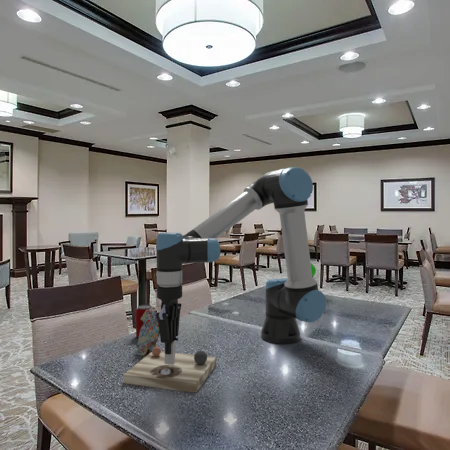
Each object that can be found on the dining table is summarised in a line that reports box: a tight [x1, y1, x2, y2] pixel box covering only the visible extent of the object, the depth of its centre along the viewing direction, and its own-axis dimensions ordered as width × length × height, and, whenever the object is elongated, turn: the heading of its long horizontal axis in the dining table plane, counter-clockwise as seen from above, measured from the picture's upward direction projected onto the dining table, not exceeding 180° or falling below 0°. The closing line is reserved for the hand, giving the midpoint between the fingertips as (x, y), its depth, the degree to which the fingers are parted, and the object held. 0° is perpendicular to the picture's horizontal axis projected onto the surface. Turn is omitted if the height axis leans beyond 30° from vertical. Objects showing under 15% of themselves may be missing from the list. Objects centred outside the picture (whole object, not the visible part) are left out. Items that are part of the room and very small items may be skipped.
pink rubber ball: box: [152, 345, 162, 356], centre depth 116 cm, size 3×3×3 cm
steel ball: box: [160, 368, 172, 375], centre depth 104 cm, size 3×3×3 cm
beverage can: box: [135, 304, 153, 338], centre depth 142 cm, size 7×7×12 cm
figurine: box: [135, 306, 160, 357], centre depth 127 cm, size 9×9×15 cm
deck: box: [122, 350, 217, 394], centre depth 108 cm, size 19×22×2 cm
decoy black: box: [193, 350, 208, 365], centre depth 109 cm, size 4×4×4 cm
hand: (169, 363), depth 107 cm, fingers closed
